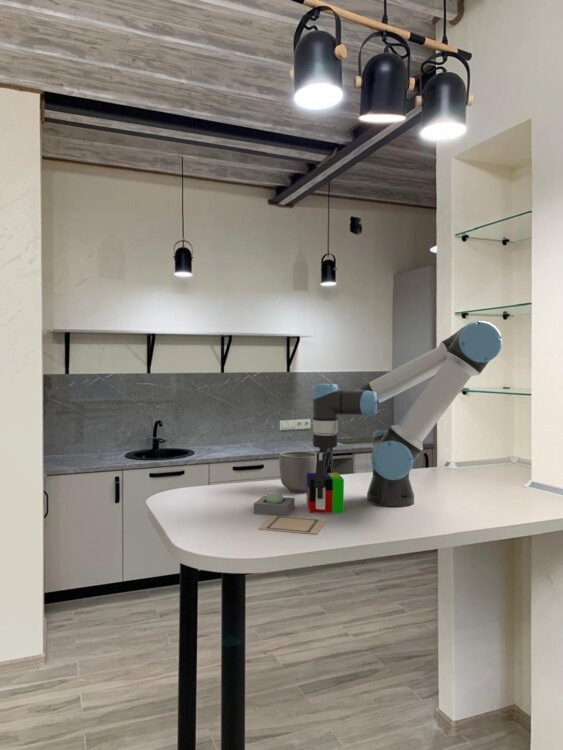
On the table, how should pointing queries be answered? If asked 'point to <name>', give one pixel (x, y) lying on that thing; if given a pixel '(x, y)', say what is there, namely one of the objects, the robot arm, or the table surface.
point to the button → (274, 497)
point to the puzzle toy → (326, 493)
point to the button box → (274, 507)
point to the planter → (296, 469)
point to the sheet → (293, 524)
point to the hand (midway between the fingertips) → (324, 504)
